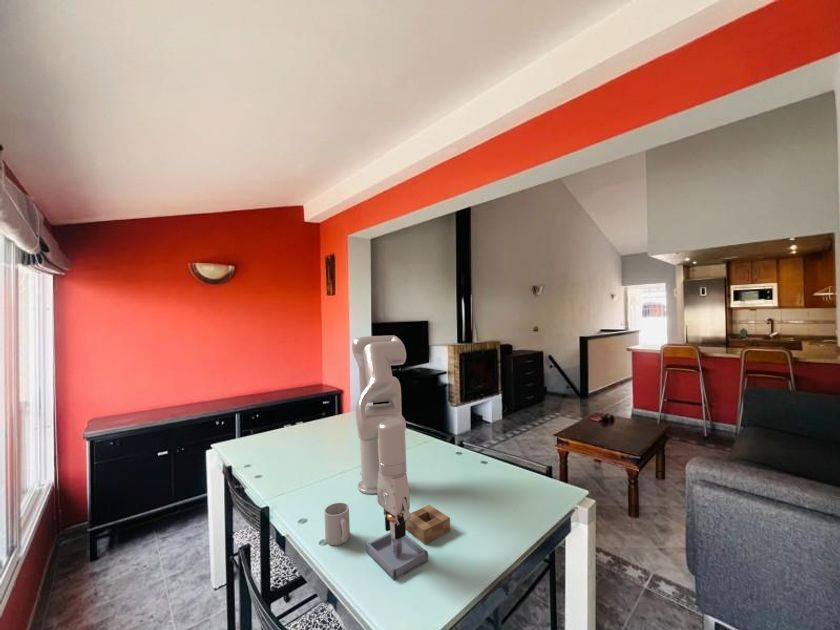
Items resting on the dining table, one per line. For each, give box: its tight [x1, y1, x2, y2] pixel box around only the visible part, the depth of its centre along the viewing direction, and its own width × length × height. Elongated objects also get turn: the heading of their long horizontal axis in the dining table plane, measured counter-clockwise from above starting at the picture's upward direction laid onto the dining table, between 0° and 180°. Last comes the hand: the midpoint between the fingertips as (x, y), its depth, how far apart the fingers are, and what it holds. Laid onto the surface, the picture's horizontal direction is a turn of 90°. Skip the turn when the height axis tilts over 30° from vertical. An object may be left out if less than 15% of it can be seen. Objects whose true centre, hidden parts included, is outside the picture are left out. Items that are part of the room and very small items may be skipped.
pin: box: [387, 512, 402, 554], centre depth 98 cm, size 4×4×10 cm
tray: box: [365, 532, 429, 581], centre depth 98 cm, size 14×11×2 cm
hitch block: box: [405, 504, 451, 545], centre depth 110 cm, size 10×10×4 cm
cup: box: [323, 502, 351, 547], centre depth 106 cm, size 7×10×9 cm
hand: (395, 532), depth 98 cm, fingers closed on pin, 4 cm apart
